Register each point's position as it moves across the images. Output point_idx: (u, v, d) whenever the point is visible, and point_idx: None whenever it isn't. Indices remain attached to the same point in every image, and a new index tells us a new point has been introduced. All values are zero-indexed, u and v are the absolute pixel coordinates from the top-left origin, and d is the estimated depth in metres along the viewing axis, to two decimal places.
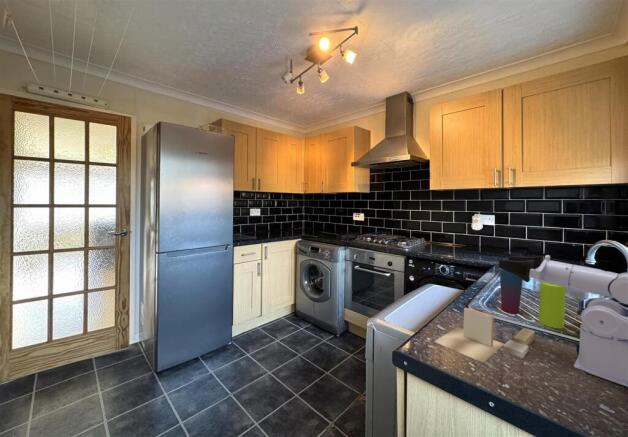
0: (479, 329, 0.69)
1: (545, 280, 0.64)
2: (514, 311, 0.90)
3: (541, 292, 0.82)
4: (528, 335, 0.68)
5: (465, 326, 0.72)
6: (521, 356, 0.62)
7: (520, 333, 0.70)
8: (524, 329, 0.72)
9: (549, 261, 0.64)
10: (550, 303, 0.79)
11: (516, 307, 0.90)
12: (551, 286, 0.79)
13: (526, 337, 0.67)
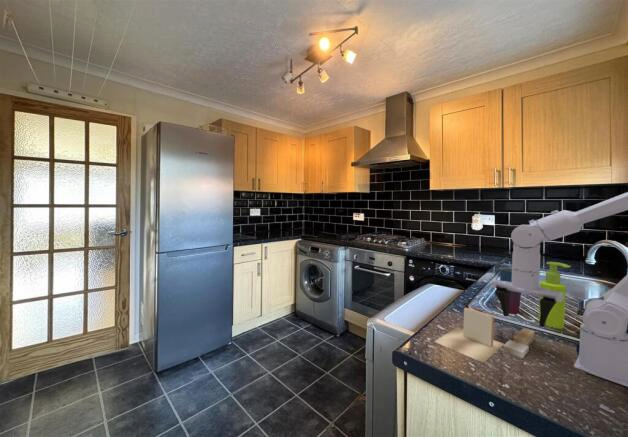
0: (479, 329, 0.69)
1: None
2: (514, 311, 0.90)
3: None
4: (528, 335, 0.68)
5: (465, 326, 0.72)
6: (521, 356, 0.62)
7: (520, 333, 0.70)
8: (524, 329, 0.72)
9: (525, 287, 0.66)
10: None
11: (516, 307, 0.90)
12: (551, 286, 0.79)
13: (526, 337, 0.67)
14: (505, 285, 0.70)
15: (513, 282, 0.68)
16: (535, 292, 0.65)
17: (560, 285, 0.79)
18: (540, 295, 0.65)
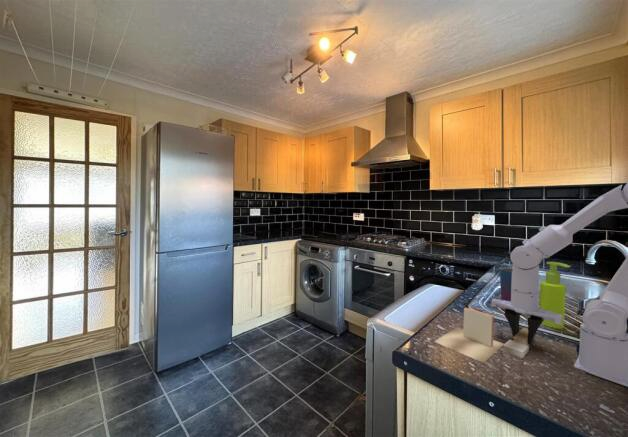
0: (479, 329, 0.69)
1: None
2: None
3: (541, 292, 0.82)
4: None
5: (465, 326, 0.72)
6: (521, 356, 0.62)
7: (520, 332, 0.70)
8: (524, 329, 0.72)
9: (525, 309, 0.66)
10: (550, 303, 0.79)
11: None
12: (551, 286, 0.79)
13: (526, 337, 0.67)
14: (504, 305, 0.70)
15: (512, 302, 0.69)
16: (534, 314, 0.65)
17: (560, 285, 0.79)
18: (539, 316, 0.65)
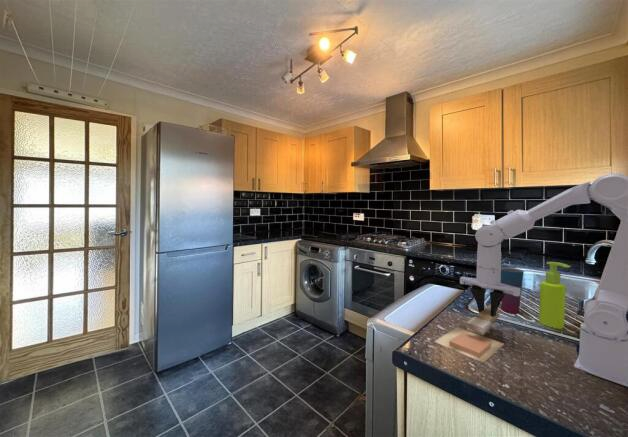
0: None
1: None
2: (514, 311, 0.90)
3: (541, 292, 0.82)
4: None
5: None
6: (482, 331, 0.67)
7: (485, 310, 0.75)
8: (489, 306, 0.77)
9: (487, 283, 0.71)
10: (550, 303, 0.79)
11: (516, 307, 0.90)
12: (551, 286, 0.79)
13: (489, 313, 0.72)
14: (471, 281, 0.75)
15: (477, 278, 0.74)
16: (496, 287, 0.70)
17: (560, 285, 0.79)
18: (501, 290, 0.71)
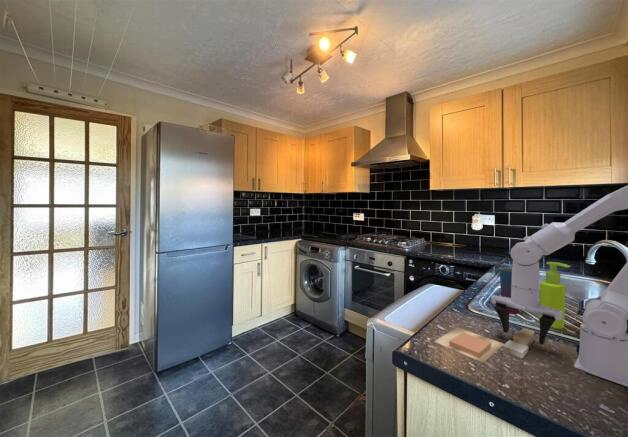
0: None
1: None
2: (514, 311, 0.90)
3: (541, 292, 0.82)
4: (528, 335, 0.68)
5: None
6: (521, 356, 0.62)
7: (520, 333, 0.69)
8: (524, 329, 0.72)
9: (525, 305, 0.66)
10: (550, 303, 0.79)
11: None
12: (551, 286, 0.79)
13: (526, 337, 0.67)
14: (505, 301, 0.70)
15: (513, 299, 0.68)
16: (534, 310, 0.65)
17: (560, 285, 0.79)
18: (539, 312, 0.65)
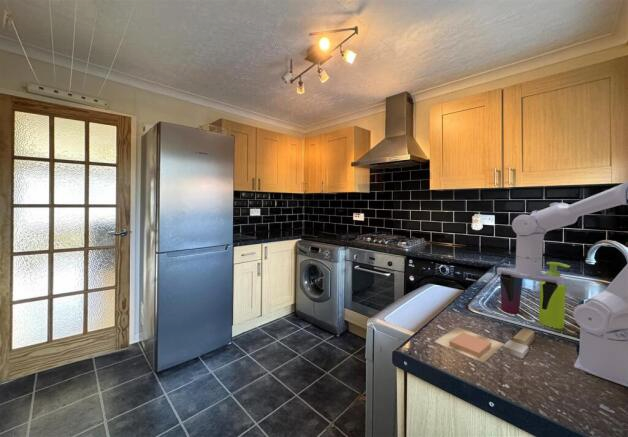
0: None
1: None
2: (514, 311, 0.90)
3: (541, 292, 0.82)
4: (528, 335, 0.68)
5: None
6: (521, 356, 0.62)
7: (520, 333, 0.69)
8: (524, 329, 0.72)
9: (529, 273, 0.71)
10: (550, 303, 0.79)
11: (516, 307, 0.90)
12: None
13: (526, 337, 0.67)
14: (510, 272, 0.75)
15: (517, 269, 0.73)
16: (538, 277, 0.69)
17: None
18: (542, 280, 0.70)
